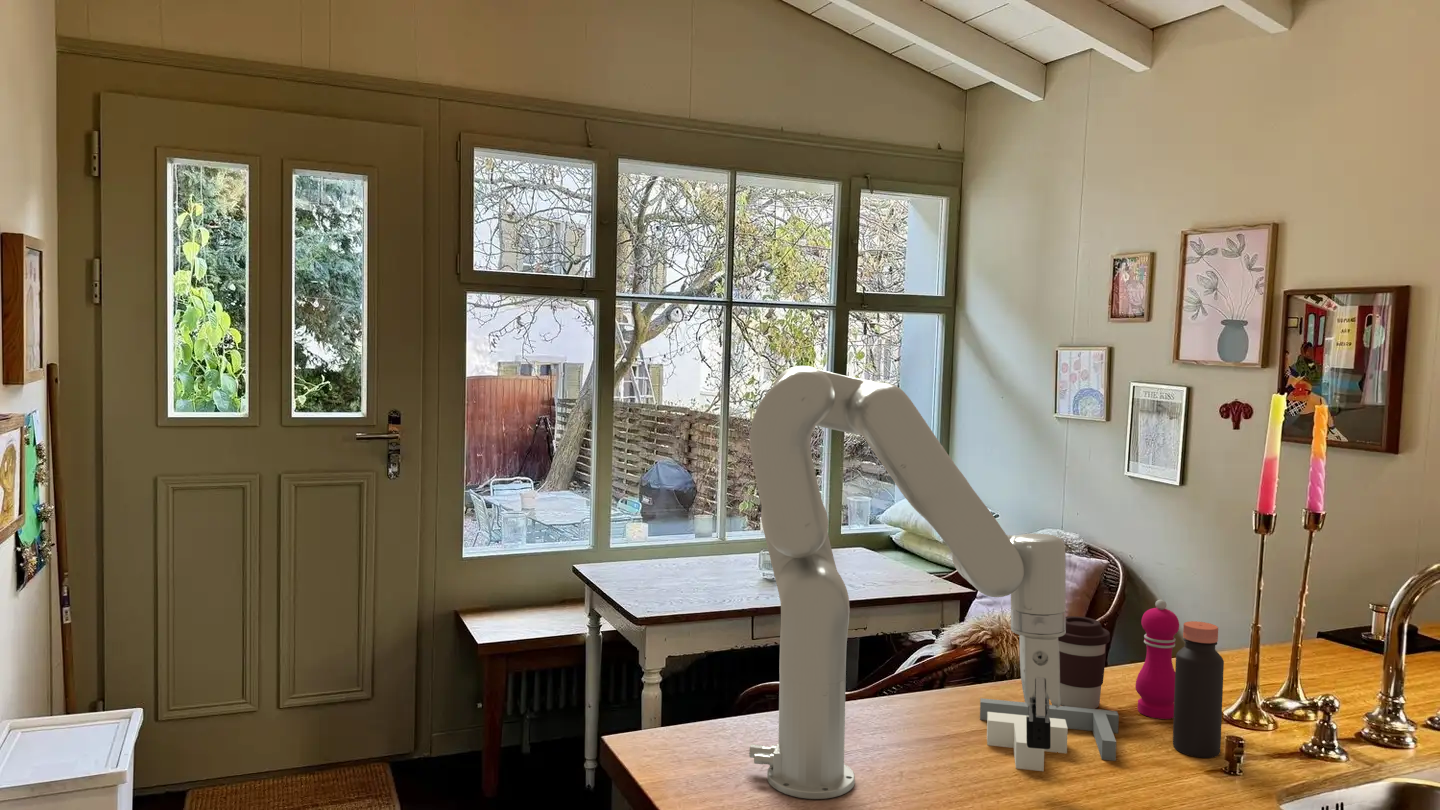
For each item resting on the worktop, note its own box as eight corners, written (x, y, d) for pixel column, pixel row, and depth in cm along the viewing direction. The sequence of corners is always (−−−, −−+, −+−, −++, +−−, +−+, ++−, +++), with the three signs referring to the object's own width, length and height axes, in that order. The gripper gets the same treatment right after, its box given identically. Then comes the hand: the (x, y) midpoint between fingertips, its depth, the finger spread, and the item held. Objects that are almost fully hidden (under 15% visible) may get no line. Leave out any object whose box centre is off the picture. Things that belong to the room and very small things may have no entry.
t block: (988, 765, 148) (988, 739, 148) (986, 735, 160) (987, 711, 159) (1071, 774, 145) (1072, 748, 145) (1064, 743, 157) (1065, 719, 157)
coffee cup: (1112, 701, 177) (1115, 619, 176) (1101, 717, 168) (1103, 631, 168) (1056, 690, 182) (1058, 610, 181) (1042, 706, 174) (1044, 622, 173)
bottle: (1182, 738, 159) (1186, 617, 158) (1226, 750, 155) (1231, 625, 154) (1165, 749, 155) (1170, 624, 154) (1211, 762, 150) (1216, 634, 149)
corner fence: (980, 746, 155) (981, 727, 155) (979, 715, 169) (980, 698, 168) (1129, 762, 150) (1130, 743, 150) (1116, 728, 163) (1116, 711, 163)
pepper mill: (1184, 722, 167) (1188, 606, 166) (1139, 718, 168) (1143, 603, 167) (1174, 707, 174) (1177, 596, 173) (1130, 704, 175) (1134, 593, 174)
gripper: (1070, 637, 132) (1070, 770, 133) (1060, 609, 147) (1061, 729, 148) (1012, 634, 134) (1013, 765, 135) (1008, 606, 149) (1009, 725, 150)
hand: (1038, 746), depth 141 cm, fingers closed
